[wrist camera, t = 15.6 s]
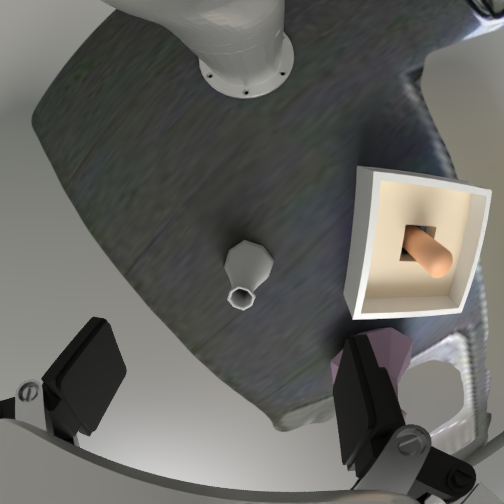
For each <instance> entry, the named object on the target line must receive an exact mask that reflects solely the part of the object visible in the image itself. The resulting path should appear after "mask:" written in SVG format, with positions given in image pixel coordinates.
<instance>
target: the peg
mask: <svg viewBox="0 0 504 504" xmlns="http://www.w3.org/2000/svg"><path fill="white" fill-rule="evenodd" d="M402 247H403V248H404V249H405V250H406V251H407V252H408V253H409V254H410V255H411V256H412V257H413V258H414V259H415V260H416V261H417V262H418V263H419V264H420V265H421V266H422V267H423V268H424V269H425V270H426V271H427V272H428V273H429V274H430V275H431V276H432V277H434V278H441V277H443V276H444V275H446V274H447V273H448V271H449V270H450V268H451V266H452V262H453V257H452V254H451V252H450V251H449V250H448V249H446V248H445V247H444V246H442V245H441V244H440V243H439V242H437V241H436V240H435V239H433V238H432V237H431V236H429V235H428V234H427V233H425V232H424V231H423V230H421V229H420V228H418V227H417V226H415V225H407V226H405V232H404V238H403V244H402Z"/></svg>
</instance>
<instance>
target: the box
mask: <svg viewBox="0 0 504 504" xmlns="http://www.w3.org/2000/svg"><path fill="white" fill-rule="evenodd" d="M491 194H492V190H489V189H487V188H484V187H481V186H478V185H475V184H472V183H469V182H466V181H461V180H457V179H451V178H446V177H440V176H434V175H428V174H422V173H415V172H408V171H401V170H393V169H385V168H376V167H366V166H357V177H356V192H355V205H354V216H353V226H352V235H351V244H350V252H349V260H348V267H347V274H346V280H345V287H344V293H343V295H344V297H345V300H346V303H347V305H348V308H349V311H350V313H351V316H352V319H353V320H357V319H385V318H404V317H420V316H433V315H444V314H454V313H461V312H462V309H463V307H464V304H465V301H466V298H467V295H468V293H469V290H470V287H471V283H472V280H473V277H474V274H475V270H476V267H477V263H478V259H479V256H480V252H481V248H482V243H483V239H484V234H485V230H486V225H487V219H488V214H489V208H490V201H491ZM406 225H420V226H427V227H426V233H427V234H428V235H429V236H431V237H432V238H433V239H435V240H436V241H437V242H439V243H440V244H441V245H442V246H444V247H445V248H446V249H448V250H449V251H450V252H451V254H452V257H453V262H452V266H451V268H450V270H449V271H448V273H447V274H446V275H444V276H443V277H441V278H434V277H432V276H431V275H430V274H429V273H428V272H427V271H426V270H425V269H424V268H423V267H422V266H421V265H420V264H419V263H418V262H417V261H416V260H415V259H414V258H413V257H412V256H411V255H410V254H401V250H402V244H403V238H404V232H405V226H406Z"/></svg>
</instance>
